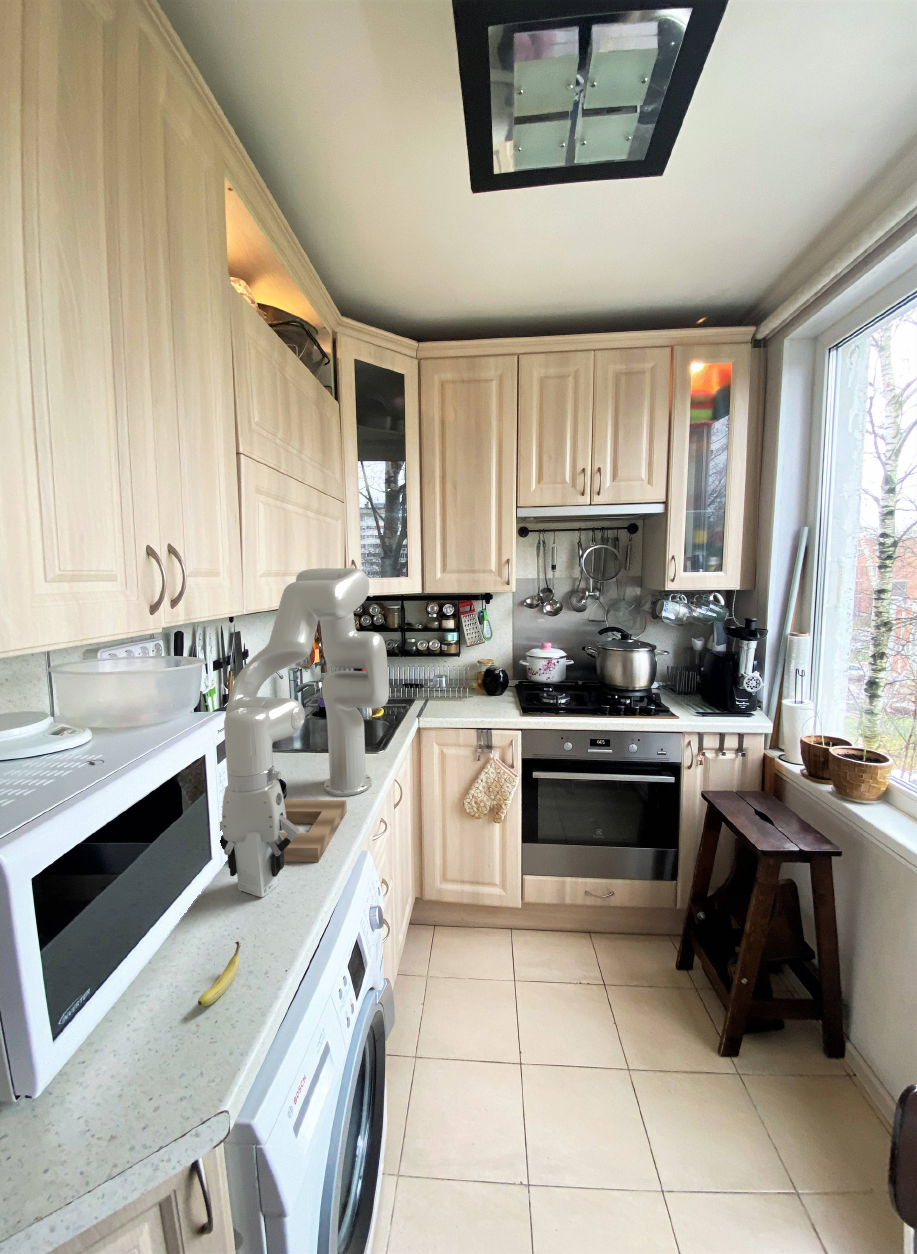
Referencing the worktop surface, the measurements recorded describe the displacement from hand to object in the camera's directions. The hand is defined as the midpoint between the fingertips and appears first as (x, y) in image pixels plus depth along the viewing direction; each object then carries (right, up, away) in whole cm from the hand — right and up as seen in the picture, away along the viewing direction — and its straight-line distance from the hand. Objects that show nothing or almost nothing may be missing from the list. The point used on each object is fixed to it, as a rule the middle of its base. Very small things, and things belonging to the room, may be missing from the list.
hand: (256, 871), depth 85 cm
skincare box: (0, -3, 0) cm, 3 cm away
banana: (+4, -6, -21) cm, 22 cm away
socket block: (+1, -1, +18) cm, 18 cm away
